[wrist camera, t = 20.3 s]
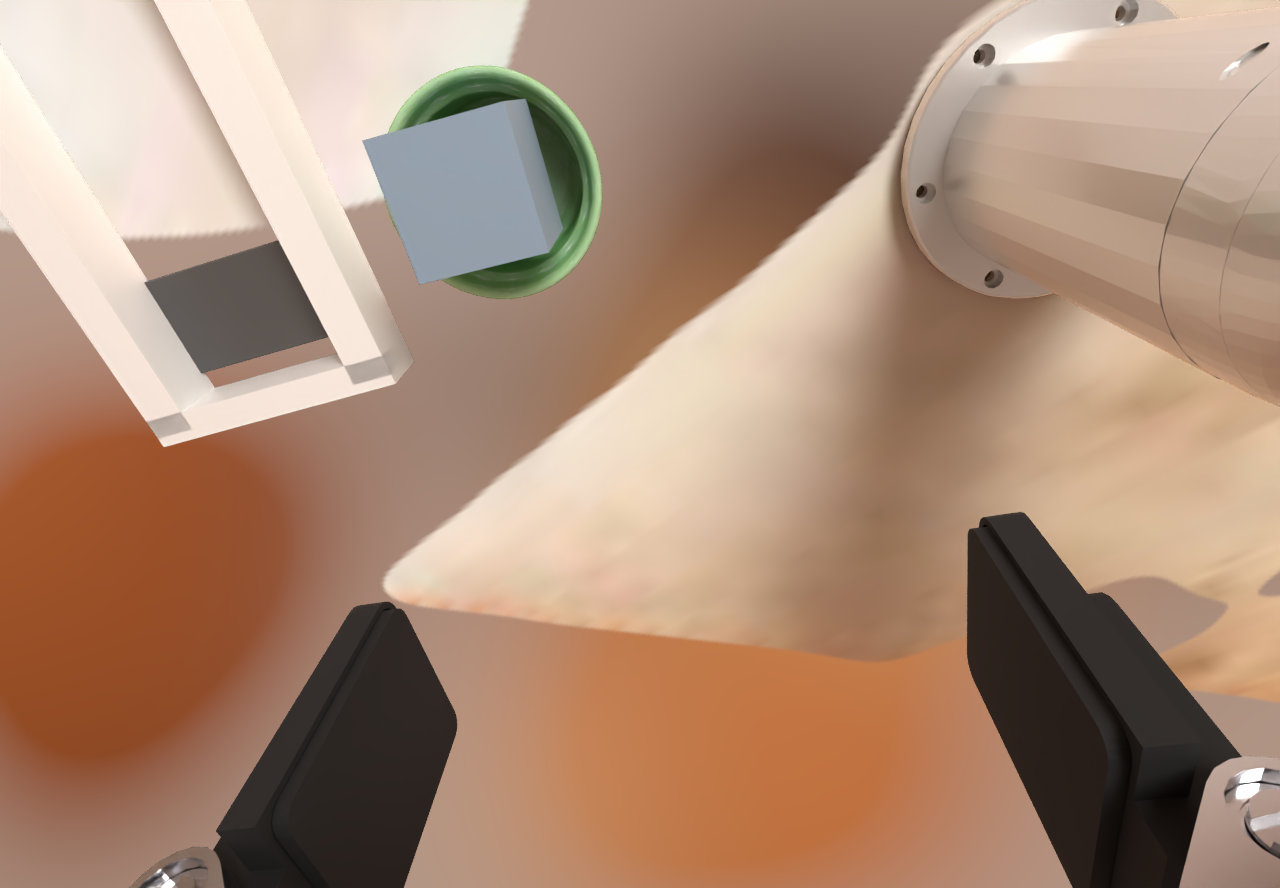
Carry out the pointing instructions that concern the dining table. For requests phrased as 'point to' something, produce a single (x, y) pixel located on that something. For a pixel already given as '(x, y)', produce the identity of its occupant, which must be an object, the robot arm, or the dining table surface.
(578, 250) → the ramekin
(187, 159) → the dining table surface
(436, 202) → the block
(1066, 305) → the dining table surface
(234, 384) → the channel
